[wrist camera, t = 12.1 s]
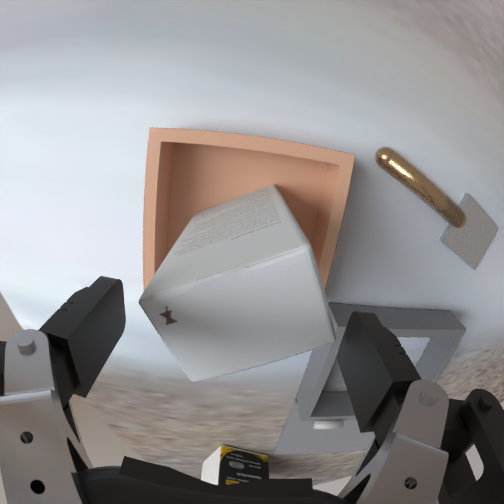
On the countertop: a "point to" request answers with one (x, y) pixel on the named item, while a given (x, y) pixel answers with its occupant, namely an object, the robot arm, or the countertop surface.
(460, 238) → the hand shovel
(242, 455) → the medicine bottle
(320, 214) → the bin
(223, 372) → the skincare box
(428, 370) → the bin
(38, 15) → the countertop surface
